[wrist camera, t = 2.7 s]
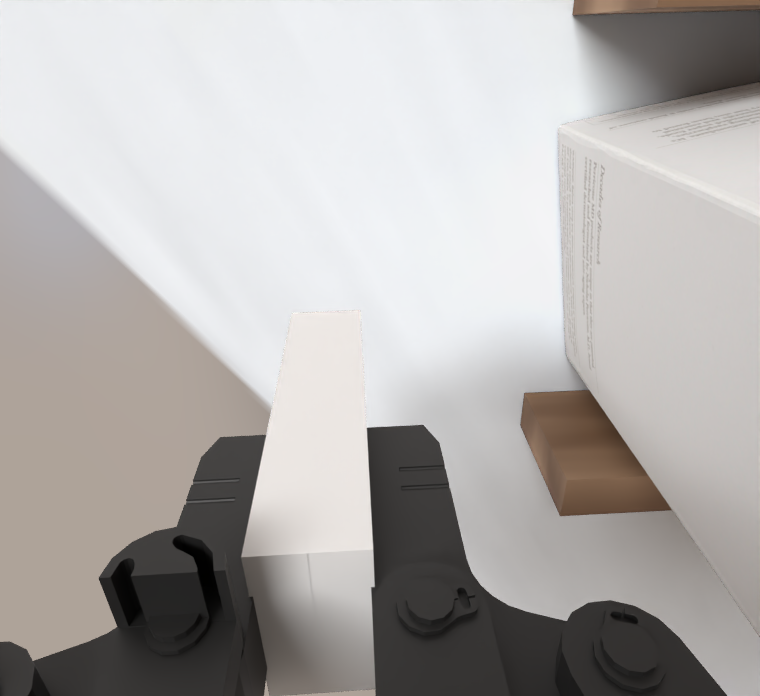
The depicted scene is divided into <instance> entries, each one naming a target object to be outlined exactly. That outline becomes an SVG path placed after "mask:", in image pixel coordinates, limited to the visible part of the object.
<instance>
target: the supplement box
mask: <svg viewBox="0 0 760 696" xmlns="http://www.w3.org/2000/svg"><path fill="white" fill-rule="evenodd" d="M558 153H559V180H560V210H561V240H562V271H563V302H564V331H565V347H566V355H567V358H568V360H569V361H570V363H571V364H572V365H573V367H574V368H575V370H576V371H577V373H578V374H579V376H580V377H581V378H582V380H583V381H584V383H585V384H586V386H587V387H588V389H589V390H590V392H591V393H592V395H593V396H594V397H595V399H596V400H597V402H598V403H599V405H600V406H601V408H602V409H603V411H604V412H605V413H606V415H607V416H608V418H609V419H610V421H611V422H612V424H613V425H614V426H615V428H616V429H617V431H618V432H619V434H620V435H621V437H622V438H623V440H624V441H625V442H626V444H627V445H628V447H629V448H630V450H631V451H632V453H633V454H634V455H635V457H636V458H637V460H638V461H639V463H640V464H641V466H642V467H643V468H644V470H645V471H646V473H647V474H648V476H649V477H650V479H651V480H652V481H653V483H654V484H655V486H656V487H657V489H658V490H659V492H660V493H661V494H662V496H663V497H664V499H665V500H666V502H667V503H668V505H669V506H670V507H671V509H672V510H673V512H674V513H675V515H676V516H677V518H678V519H679V520H680V522H681V523H682V525H683V526H684V528H685V529H686V531H687V532H688V534H689V535H690V536H691V538H692V539H693V541H694V542H695V544H696V545H697V547H698V548H699V549H700V551H701V552H702V554H703V555H704V557H705V558H706V560H707V561H708V563H709V564H710V565H711V567H712V568H713V570H714V571H715V573H716V574H717V576H718V577H719V578H720V580H721V581H722V583H723V584H724V586H725V587H726V589H727V590H728V592H729V593H730V595H731V596H732V598H733V599H734V601H735V602H736V604H737V605H738V607H739V608H740V609H741V611H742V612H743V614H744V615H745V617H746V618H747V619H748V621H749V622H750V624H751V625H752V626H753V628H754V629H755V631H756V632H757V634H758V635H759V637H760V82H756V83H751V84H747V85H742V86H737V87H732V88H727V89H723V90H718V91H713V92H709V93H704V94H699V95H694V96H690V97H685V98H680V99H676V100H671V101H666V102H662V103H657V104H652V105H648V106H643V107H638V108H634V109H629V110H624V111H620V112H615V113H610V114H606V115H601V116H596V117H591V118H587V119H582V120H577V121H573V122H569V123H566V124H563V125H561V126H560V127H559V128H558Z"/></svg>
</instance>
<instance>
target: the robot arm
mask: <svg viewBox="0 0 760 696" xmlns="http://www.w3.org/2000/svg"><path fill="white" fill-rule="evenodd" d="M186 501H187V502H186V505H184V508H183V511H182V513H181V516H180V519H179V522H178V525H177V527H174V528H169V529H165V530H159V531H155V532H153V533H151V534H148V535H146V536H144V537H142V538H140V539H138V540H136V541H134V542H132V543H131V544H129V545H128V546H127V547H126V548H124V549H123V550H122V551H121V552H120V553H118V554H117V555H116V556H114V557H113V558H112V559H111V561H110V562H109V564H108V565H107V567H106V568H105V569H104V571H103V572H102V574H101V575H100V577H99V581H100V583H101V585H102V588H103V591H104V593H105V596H106V598H107V601H108V604H109V606H110V609H111V611H112V614H113V616H114V619H115V621H116V624H117V628H115V629H113V630H112V631H110V632H109V633H107V634H105V635H103V636H100V637H98V638H96V639H93V640H91V641H89V642H87V643H84V644H80V645H78V646H75V647H72V648H69V649H66V650H63V651H60V652H58V653H55V654H52V655H49V656H46V657H43V658H41V659H38V660H35V661H32V659H31V657H30V655H29V653H28V651H27V650H26V649H24V648H22V647H20V646H18V645H16V644H14V643H12V642H0V696H264V689H265V681H267V686H268V691H269V696H282V695H297V694H312V693H327V692H340V691H341V692H342V691H356V690H371V689H376V696H727V695H726V694H725V692H724V691H723V690H722V689H721V688H720V686H719V685H718V684H717V683H716V681H715V680H714V679H713V678H712V677H711V675H710V674H709V673H708V672H707V671H706V669H705V668H704V667H703V666H702V665H701V663H700V662H699V661H698V660H697V659H696V657H695V656H694V655H693V654H692V653H691V651H690V650H689V649H688V648H687V647H686V645H685V644H684V643H683V642H682V640H681V639H680V638H679V637H678V636H677V635H676V634H675V633H673V632H672V631H671V630H670V629H669V628H668V627H667V626H666V625H665V624H664V623H663V622H662V621H660V620H659V619H658V618H656V617H654V616H652V615H651V614H649V613H647V612H645V611H643V610H641V609H639V608H638V607H636V606H632V605H628V604H624V603H619V602H615V601H611V600H610V601H600V602H591V603H587V604H586V605H584V606H582V607H580V608H579V609H577V610H575V611H574V612H572V613H571V615H570V617H569V618H568V620H567V621H563V620H559V619H555V618H550V617H546V616H542V615H538V614H534V613H530V612H526V611H523V610H520V609H517V608H514V607H511V606H508V605H507V604H505V603H503V602H502V601H500V600H498V599H496V598H495V597H493V596H492V595H491V594H490V593H489V592H487V591H486V590H485V589H484V588H483V587H482V586H481V585H480V584H479V582H478V581H477V580H476V578H475V577H474V575H473V574H472V572H471V570H470V567H469V565H468V562H467V559H466V555H465V550H464V546H463V542H462V538H461V533H460V529H459V525H458V521H457V516H456V512H455V508H454V503H453V499H452V495H451V491H450V488H449V482H448V478H447V474H446V469H445V467H444V461H443V456H442V452H441V448H440V444H439V442H438V441H437V440H436V439H435V438H434V436H433V435H432V434H431V433H430V432H429V431H428V430H427V429H426V428H425V426H424V425H413V426H393V427H374V428H367V423H366V404H365V386H364V367H363V348H362V329H361V310H349V311H325V312H302V313H291V318H290V323H289V328H288V332H287V337H286V342H285V347H284V352H283V357H282V362H281V366H280V371H279V376H278V381H277V386H276V391H275V395H274V400H273V405H272V410H271V415H270V420H269V425H268V429H267V435H255V436H237V437H236V436H235V437H220V438H219V439H218V440H217V441H216V442H215V443H214V444H213V446H212V447H211V448H210V449H209V450H208V451H207V452H206V453H205V454H204V455H203V456H202V457H201V460H200V462H199V465H198V468H197V471H196V474H195V477H194V479H193V485H191V488H190V491H189V494H188V496H187V499H186Z"/></svg>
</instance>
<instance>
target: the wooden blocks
mask: <svg viewBox="0 0 760 696" xmlns="http://www.w3.org/2000/svg"><path fill="white" fill-rule="evenodd" d="M752 10H760V0H574V7H573V15H592V14H632V13H672V12H712V11H752ZM520 425H521V428H522V430H523V432H524V435H525V437H526V439H527V441H528V444H529V446H530V448H531V451H532V453H533V455H534V457H535V460H536V462H537V464H538V467H539V469H540V471H541V473H542V476H543V478H544V480H545V483H546V485H547V487H548V489H549V492H550V494H551V496H552V499H553V501H554V503H555V505H556V508H557V510H558V512H559V515H560V516H570V515H589V514H608V513H627V512H646V511H665V510H672V509H671V507H670V506H669V505H668V503H667V502H666V500H665V499H664V497H663V496H662V494H661V493H660V492H659V490H658V489H657V487H656V486H655V484H654V483H653V481H652V480H651V479H650V477H649V476H648V474H647V473H646V471H645V470H644V468H643V467H642V466H641V464H640V463H639V461H638V460H637V458H636V457H635V455H634V454H633V453H632V451H631V450H630V448H629V447H628V445H627V444H626V442H625V441H624V440H623V438H622V437H621V435H620V434H619V432H618V431H617V429H616V428H615V426H614V425H613V424H612V422H611V421H610V419H609V418H608V416H607V415H606V413H605V412H604V411H603V409H602V408H601V406H600V405H599V403H598V402H597V400H596V399H595V397H594V396H593V395H592V393H591V392H590V390H582V391H560V392H538V393H524V401H523V408H522V416H521V424H520Z"/></svg>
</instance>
